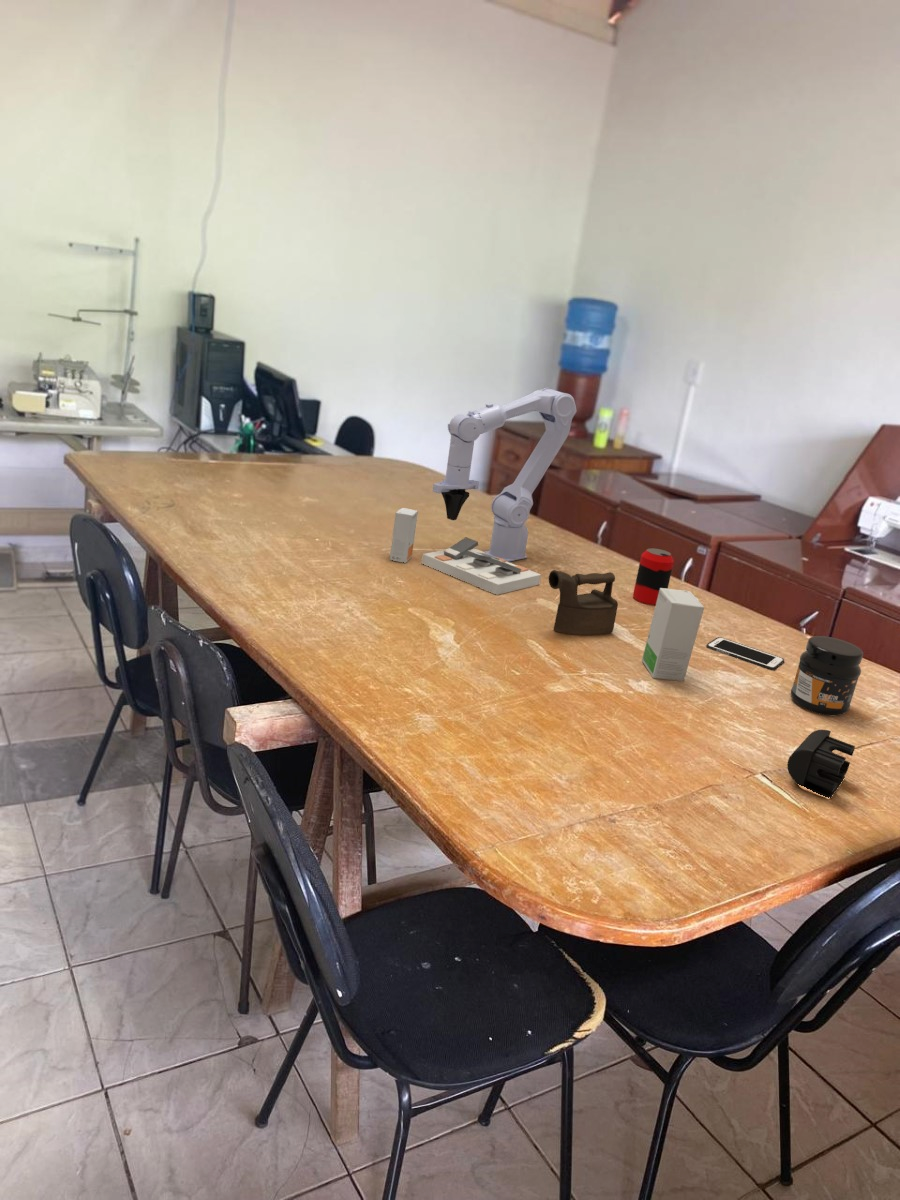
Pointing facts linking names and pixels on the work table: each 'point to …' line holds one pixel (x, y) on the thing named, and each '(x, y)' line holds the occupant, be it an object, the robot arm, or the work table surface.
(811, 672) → the supplement container
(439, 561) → the console
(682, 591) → the skincare box
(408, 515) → the skincare box
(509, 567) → the block
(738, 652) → the cell phone
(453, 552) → the block
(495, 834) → the work table surface
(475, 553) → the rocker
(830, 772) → the end cap
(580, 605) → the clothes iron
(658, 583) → the soda can
